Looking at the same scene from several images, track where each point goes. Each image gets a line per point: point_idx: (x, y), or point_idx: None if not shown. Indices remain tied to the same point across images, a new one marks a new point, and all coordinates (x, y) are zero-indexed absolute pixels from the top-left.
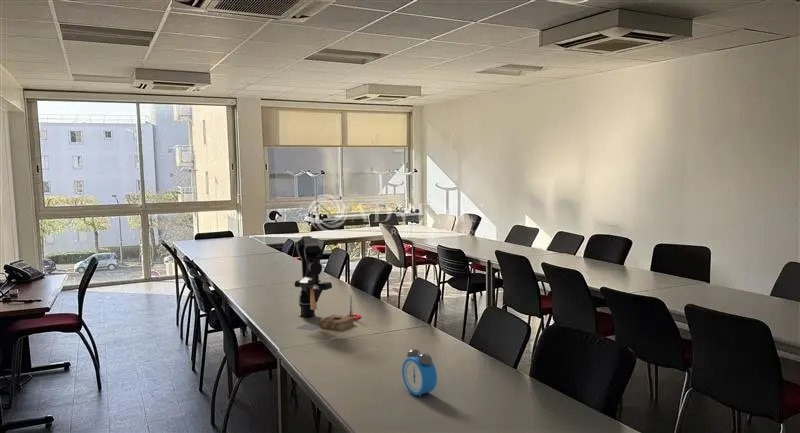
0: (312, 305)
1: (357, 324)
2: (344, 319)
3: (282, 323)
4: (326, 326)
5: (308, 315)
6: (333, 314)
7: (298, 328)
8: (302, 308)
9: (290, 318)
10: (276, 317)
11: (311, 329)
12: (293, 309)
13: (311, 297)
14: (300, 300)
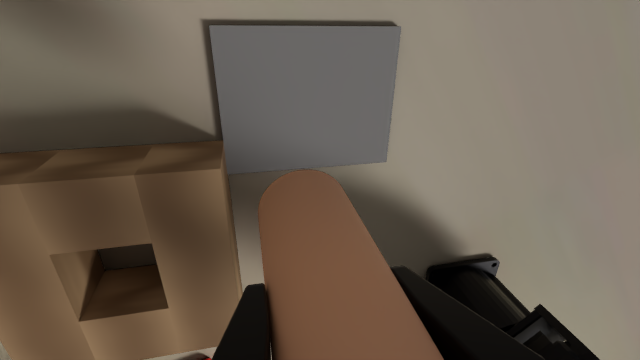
0: (301, 206)
1: None
2: (15, 299)
3: (552, 109)
4: (146, 153)
5: (446, 286)
6: None
7: (375, 28)
8: (514, 309)
9: (536, 219)
10: (620, 195)
11: (247, 53)
12: None
13: (371, 329)
14: (579, 345)
